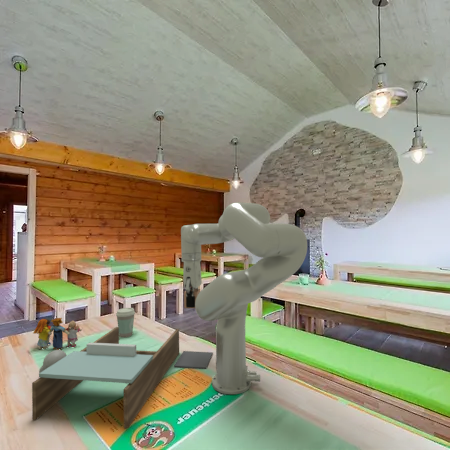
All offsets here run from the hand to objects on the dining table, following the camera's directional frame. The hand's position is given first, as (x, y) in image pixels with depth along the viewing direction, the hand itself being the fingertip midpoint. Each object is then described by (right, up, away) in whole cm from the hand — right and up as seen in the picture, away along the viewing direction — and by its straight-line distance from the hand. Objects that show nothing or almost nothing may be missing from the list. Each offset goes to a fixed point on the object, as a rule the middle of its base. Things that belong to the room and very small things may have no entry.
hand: (192, 304), depth 105 cm
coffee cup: (-35, -22, +26) cm, 49 cm away
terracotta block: (0, -1, 0) cm, 1 cm away
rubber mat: (+1, -21, 0) cm, 21 cm away
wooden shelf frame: (-22, -21, -13) cm, 34 cm away
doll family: (-61, -23, +13) cm, 66 cm away
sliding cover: (-24, -11, -24) cm, 36 cm away
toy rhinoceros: (-45, -22, -10) cm, 51 cm away
